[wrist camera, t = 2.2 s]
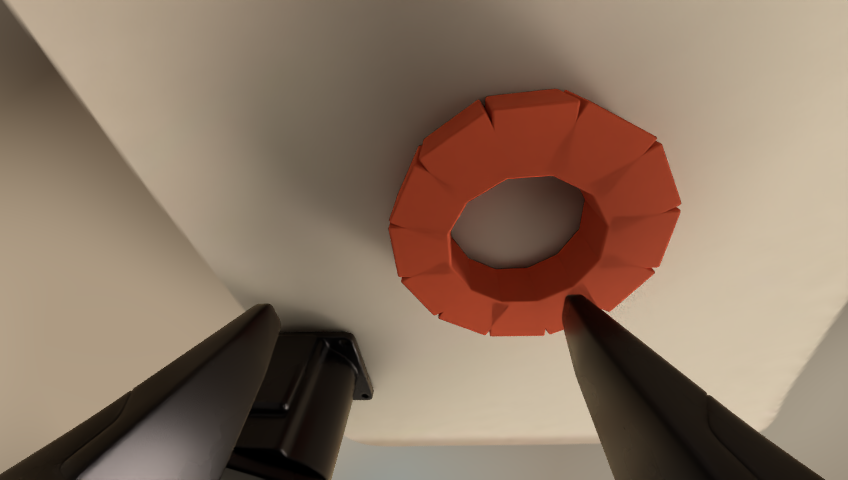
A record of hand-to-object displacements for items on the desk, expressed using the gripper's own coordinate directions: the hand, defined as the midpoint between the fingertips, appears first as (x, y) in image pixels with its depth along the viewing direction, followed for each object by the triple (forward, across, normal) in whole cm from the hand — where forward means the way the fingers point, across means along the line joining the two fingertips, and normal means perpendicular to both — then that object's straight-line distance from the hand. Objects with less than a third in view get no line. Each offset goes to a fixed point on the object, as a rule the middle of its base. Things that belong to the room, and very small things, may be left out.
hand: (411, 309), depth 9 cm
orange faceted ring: (+5, -4, 0) cm, 6 cm away
